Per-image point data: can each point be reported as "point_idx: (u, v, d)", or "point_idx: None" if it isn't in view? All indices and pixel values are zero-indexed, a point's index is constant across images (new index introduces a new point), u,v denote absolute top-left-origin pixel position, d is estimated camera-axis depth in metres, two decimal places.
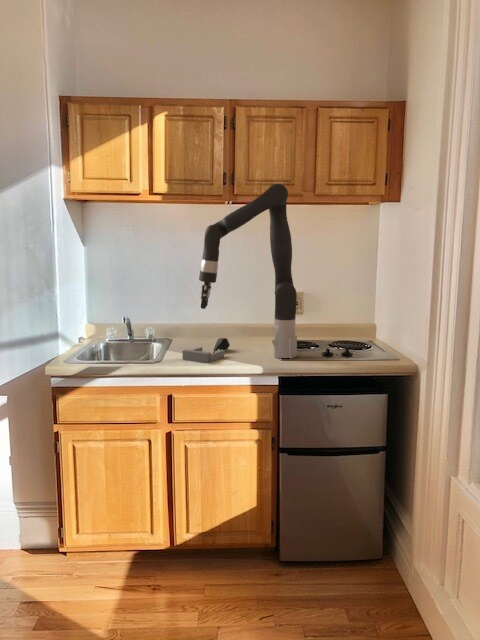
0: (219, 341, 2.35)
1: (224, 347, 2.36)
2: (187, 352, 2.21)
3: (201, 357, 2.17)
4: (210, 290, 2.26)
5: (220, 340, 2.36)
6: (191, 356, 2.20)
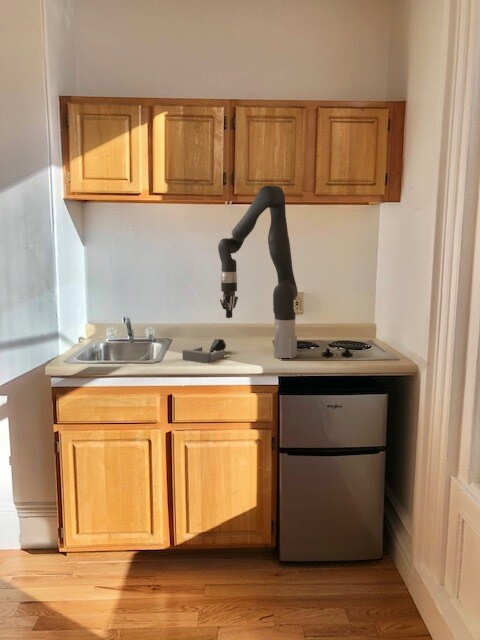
0: (215, 342, 2.33)
1: (220, 348, 2.34)
2: (187, 352, 2.21)
3: (201, 357, 2.17)
4: (233, 300, 2.41)
5: (216, 341, 2.33)
6: (191, 356, 2.20)
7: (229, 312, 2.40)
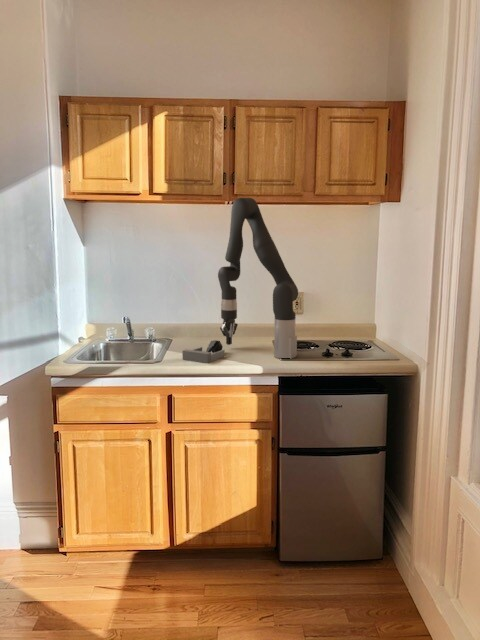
0: (211, 344, 2.30)
1: (217, 350, 2.31)
2: (187, 352, 2.21)
3: (201, 357, 2.17)
4: (233, 327, 2.43)
5: (213, 342, 2.30)
6: (191, 356, 2.20)
7: (229, 339, 2.42)
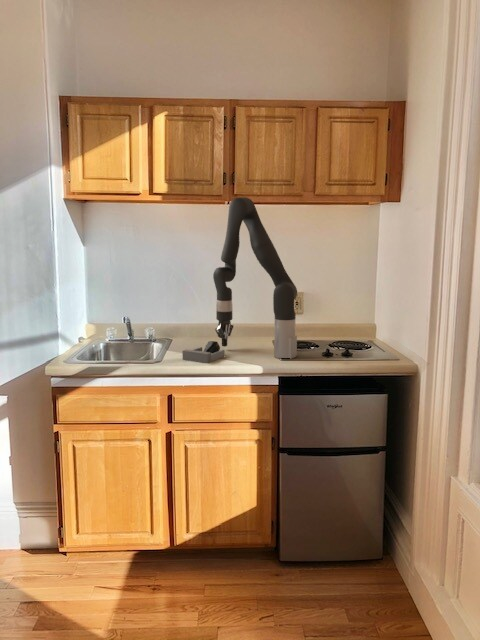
0: (209, 344, 2.28)
1: (214, 351, 2.29)
2: (187, 352, 2.21)
3: (201, 357, 2.17)
4: (229, 329, 2.39)
5: (210, 343, 2.28)
6: (191, 356, 2.20)
7: (225, 340, 2.39)
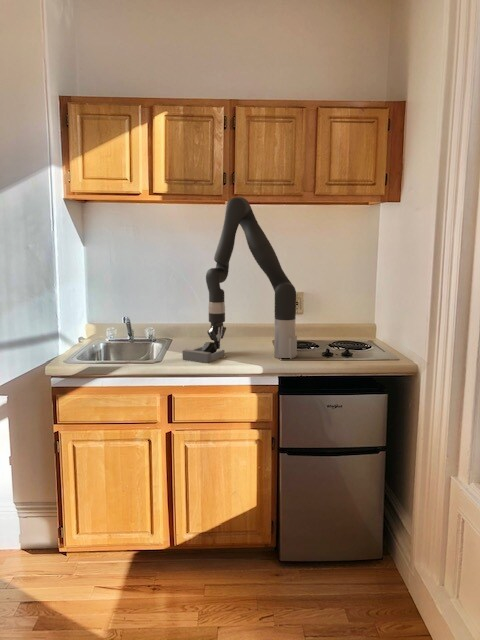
0: (206, 345, 2.26)
1: (211, 352, 2.27)
2: (187, 352, 2.21)
3: (201, 357, 2.17)
4: (221, 331, 2.34)
5: (207, 344, 2.26)
6: (191, 356, 2.20)
7: (217, 343, 2.33)
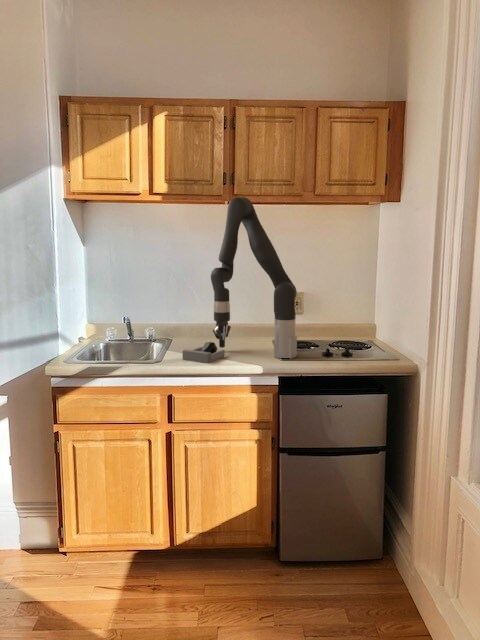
0: (206, 345, 2.26)
1: (211, 352, 2.27)
2: (187, 352, 2.21)
3: (201, 357, 2.17)
4: (226, 330, 2.37)
5: (207, 344, 2.26)
6: (191, 356, 2.20)
7: (222, 341, 2.37)
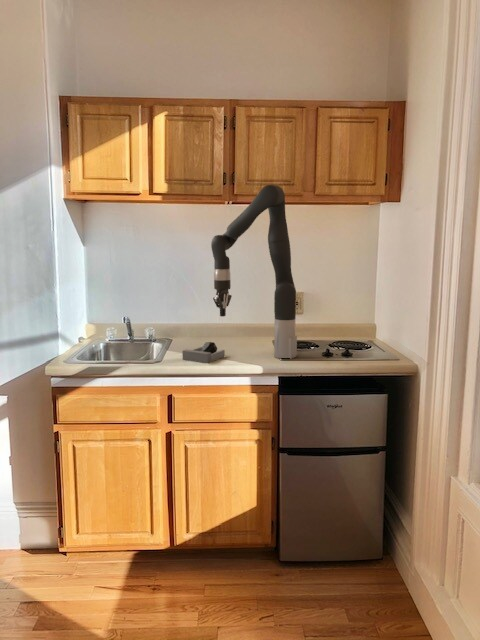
0: (206, 345, 2.26)
1: (211, 352, 2.27)
2: (187, 352, 2.21)
3: (201, 357, 2.17)
4: (227, 299, 2.35)
5: (207, 344, 2.26)
6: (191, 356, 2.20)
7: (223, 310, 2.35)
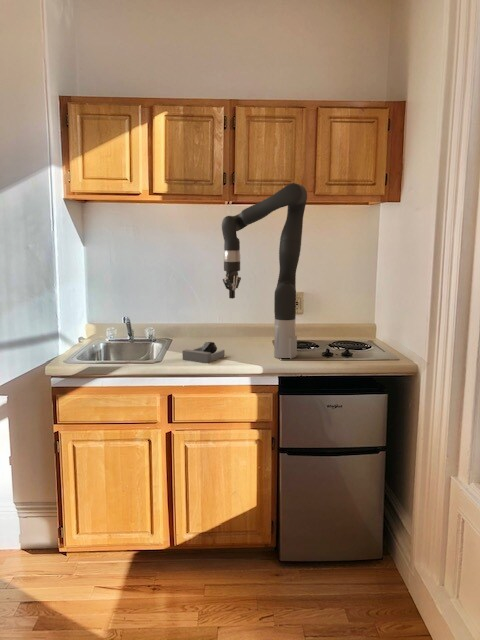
0: (205, 345, 2.26)
1: (211, 351, 2.27)
2: (187, 352, 2.21)
3: (201, 357, 2.17)
4: (236, 280, 2.34)
5: (206, 344, 2.26)
6: (191, 356, 2.20)
7: (232, 292, 2.33)
